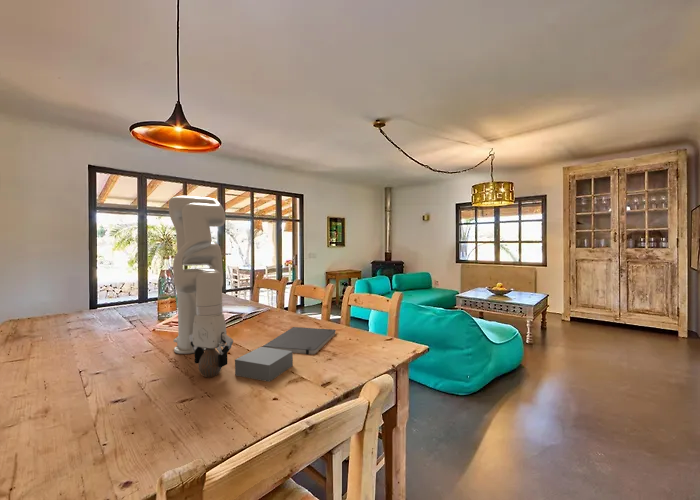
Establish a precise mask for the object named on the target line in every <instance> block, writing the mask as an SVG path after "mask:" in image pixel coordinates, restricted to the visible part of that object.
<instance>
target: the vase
mask: <svg viewBox="0 0 700 500" xmlns="http://www.w3.org/2000/svg"><path fill="white" fill-rule="evenodd" d="M219 354H220V353H219V352H218V350H217V348H215V349H209V348H206V350H204V353H203V354H202V356H201V357H200V360H199V363H198V370H199V373H200V374H201V375H202V376H203V377H204V378H213V377H216V376H217V375H219V374H220V372H221V371H222V368H223V367H221V368H220V367H218V355H219Z"/></svg>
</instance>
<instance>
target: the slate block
mask: <svg viewBox="0 0 700 500" xmlns="http://www.w3.org/2000/svg"><path fill="white" fill-rule="evenodd" d="M293 356H294V355H293V351H288V350H281V349H274V348H267V347H263V346H260V347H258V348H256V349H253V350H252V351H249V352H248V353H245V354H243V355H242V356H239V357H237V358H235V359H234V376H238V377H242V378H248V379H253V380H259V381H264V382H269V383H270V382H272V381H273V380H274V379H275V378H277V377H279V376H281V375H282V374H283V373H284V372H286V371H287V370H290V368H292V367H293V364H294V362H293V359H294V358H293Z"/></svg>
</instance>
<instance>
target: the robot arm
mask: <svg viewBox="0 0 700 500" xmlns="http://www.w3.org/2000/svg"><path fill="white" fill-rule="evenodd" d="M168 213H169V217H170V220H171V222H172V224H173V227H174V229H175V233H176V234H175V235H176V250H177V251H176V254H175V256H174V259H173V262H172V271H173V282H174V283H173V284H174V288H175V290H176V297H177V298H176V299H177V323H178V324H177V325H178V326H177V327H178V333H177V334H178V336H176V338H173V342H174V343H176V346H175V347H174V349H173V351H174V352H175V354H180V355H188V354H194V364H196V365H197V364H199V360H200V357H201V356H202V354H203V353H204V352H205V350H206V348H209V349H216V350H217V351H218V352H219V355H218V367H220V368H221V367H222V368H223V367H225V366H227V365H228V353H229V352H230V350H231V349H232V345H233V343H234V339H233V338H232V337H230V336H229V335H227V324H226V320H225V319H226V318H225V315H224V313H223V312H224V311H223V310H224V309H223V307H224V306H223V286H224V270H223V257H222V249H221V246H220V245H219V244H218V243H217V242H214V241H213V239H212V233H211V227H214V228H215V227H217V228H218V227H219V228H220V227H223V226H224V224H225V223H226V212H225V210H224V208H223V205H222V204H221V203H220V202H219V201H218V200H217V199H215V198H212V197H201V196H189V195H178V196H177V195H176V196H173V197H171V198H170V199H169V201H168ZM184 266H187V267H188V266H208V267H207V268H202V267H200V268H187V269H184ZM222 368H221V369H222Z"/></svg>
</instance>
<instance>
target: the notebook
mask: <svg viewBox="0 0 700 500" xmlns="http://www.w3.org/2000/svg"><path fill="white" fill-rule="evenodd" d="M336 332H337V330H336V329H331V328H330V329H328V328H318V327H317V328H315V327H298V326H292V327H291V328H289V329H288V330H286V331H284V332H283V333H282V334H279V335H278V336H277V337H275V338H274V339H272V340H270V341H269V342H267V343H265V344H264V345H262V347H267V348H274V349H281V350H288V351H293V353H294V354H304V355H305V354H306V355H315V354H317V353H318V352H319V350H321V349H322V348H323V347H324V346H325V345H326V344H327V343H328V342H329V341H330V340H331V339H332V338H334V336H335V335H336Z"/></svg>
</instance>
